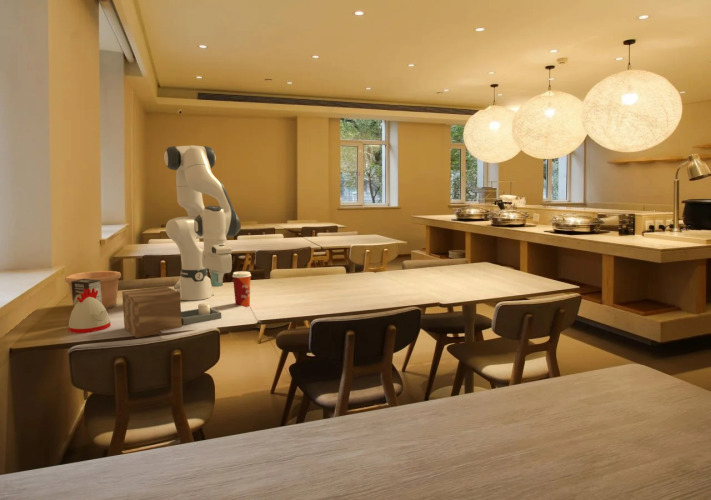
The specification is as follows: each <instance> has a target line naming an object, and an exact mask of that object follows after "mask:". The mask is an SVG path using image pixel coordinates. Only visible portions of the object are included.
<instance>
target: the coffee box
mask: <svg viewBox="0 0 711 500" xmlns="http://www.w3.org/2000/svg"><path fill="white" fill-rule="evenodd" d="M71 283H72V296H71V298H72V297H73V300H72V307H73V308H74V307H75V305H76V304H77V303H78V302H79V300H78V298H77V297H79V298H80V299H82V297H81V294H80V293H83V294H84V289H86V290H87V293H88V289H90V291H91V292H92V288H94V289H95V292H96V291H98V294H97V297H96V299H97V300H98V301H100V302H101V303H102V297H101V282H100V280H94V279H80V280H75V281H71Z"/></svg>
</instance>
